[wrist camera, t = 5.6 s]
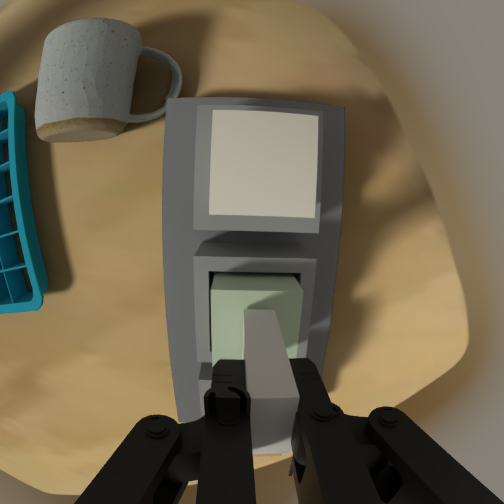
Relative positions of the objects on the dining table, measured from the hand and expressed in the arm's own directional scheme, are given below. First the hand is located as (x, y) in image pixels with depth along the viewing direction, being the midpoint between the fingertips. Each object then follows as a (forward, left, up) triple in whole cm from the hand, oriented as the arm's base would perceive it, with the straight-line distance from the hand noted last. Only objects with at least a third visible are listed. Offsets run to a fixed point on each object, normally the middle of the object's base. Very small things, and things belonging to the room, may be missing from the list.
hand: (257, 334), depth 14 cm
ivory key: (0, +8, -4) cm, 9 cm away
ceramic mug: (-11, +15, -10) cm, 21 cm away
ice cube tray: (-25, +6, -10) cm, 28 cm away
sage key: (0, 0, -5) cm, 5 cm away
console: (0, 0, -9) cm, 9 cm away
